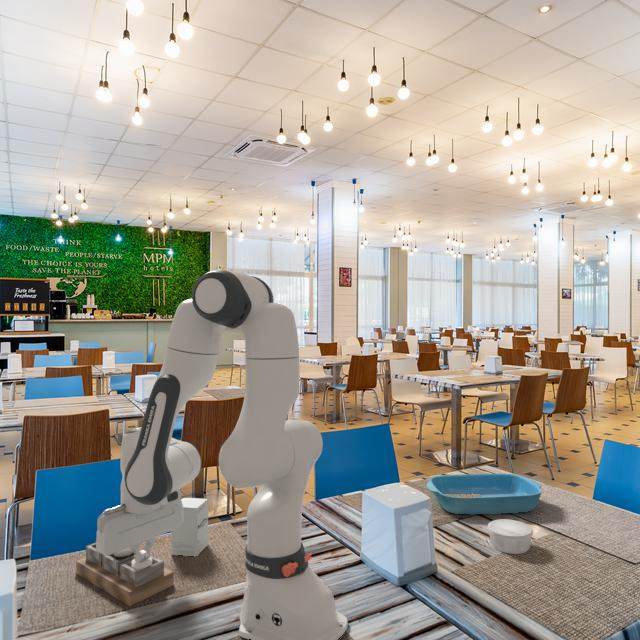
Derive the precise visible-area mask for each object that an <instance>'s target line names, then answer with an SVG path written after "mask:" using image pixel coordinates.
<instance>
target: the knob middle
mask: <svg viewBox="0 0 640 640" xmlns="http://www.w3.org/2000/svg"><path fill="white" fill-rule="evenodd" d="M132 553H133V551H132V550H131V549H130V547H129V548H126V549H124V550H121V551H119V552H116V553H114V556H117V557H123V556H127V555H130V554H132Z"/></svg>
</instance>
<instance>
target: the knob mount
mask: <svg viewBox="0 0 640 640" xmlns="http://www.w3.org/2000/svg"><path fill="white" fill-rule="evenodd" d="M139 551H141V550H140V549H139ZM150 557H151V558H152V565H151V566H148V567H146V568H144V569H141V570H139V571H137V570H135V569H134V568H132V560H133V559H134V553H132V554H130V555H127V556H123V557H117V556H114V554H111V555H109V556H105V555H103V554H101V553H99V552H98V551H97V550H96V542H94V543H91V544H89V545H86V546H85V557H83V558H81V559H78V560H76V561H75V562H76V566H75V572H76V574H75V575H77V576H79V577H81V578H82V579H84V580H86V581H87V582H89V583H91V584H93V585H94V586H95V587H97V588H99V589H100V590H102V591H104V592H106V593H107V594H108V595H110V596H112V597H113V598H115V599H117V600H118V601H120V602H122V603H123V604H125V605H127V606H128V607H132V606H134V605H136V604H138V603H140V602H142V601H144V600H146V599H148V598H150V597H152V596H155V595H156V594H158V593H161V592H162V591H165V590H166V589H168V588H170V587H173V586H174V585H175V584H174V583H175V582H174V571H173V570H170V569H168V568H166V567H165V562H164V561H163V560H161V559H160V558H157V557H155V556H154V555H151V554H150Z"/></svg>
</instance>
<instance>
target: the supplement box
mask: <svg viewBox="0 0 640 640" xmlns="http://www.w3.org/2000/svg"><path fill="white" fill-rule="evenodd" d="M180 500H181V501H182V504H183V513H184V521H183V524H182V525H181V527H180V528H177V529H175V530H172V531H170V534H171V535H170V541H171V542H170V544H171V545H170V547H171V548H170V552H171V553H170V554H171V556H178V555H183V556H182V557H188V556H194V557H193V558H197V557H198V556H199V555H200V554H201V552H203V550H204V549H205V548H206V547H207V546H209V515H208V514H209V500H208V498H199V497H198V498H197V497H183V498H180ZM196 556H197V557H196Z"/></svg>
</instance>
